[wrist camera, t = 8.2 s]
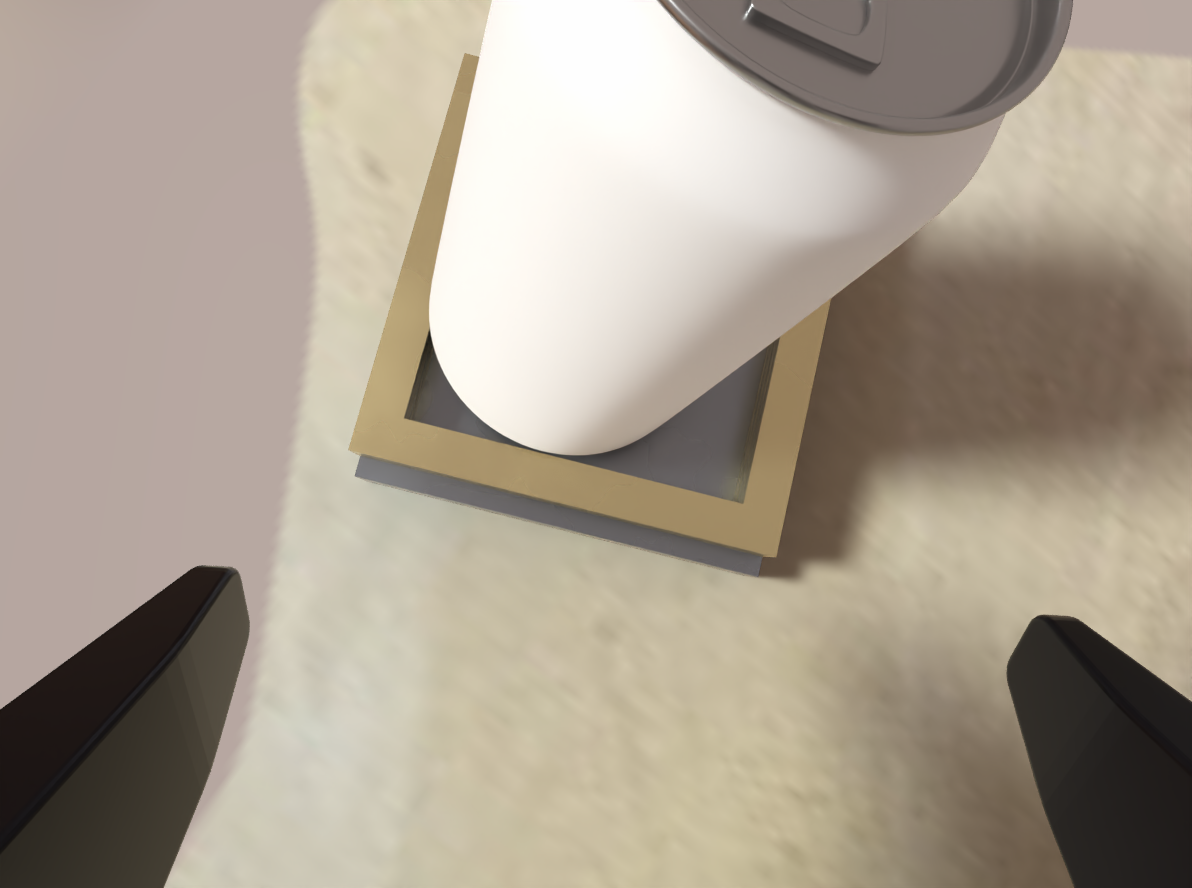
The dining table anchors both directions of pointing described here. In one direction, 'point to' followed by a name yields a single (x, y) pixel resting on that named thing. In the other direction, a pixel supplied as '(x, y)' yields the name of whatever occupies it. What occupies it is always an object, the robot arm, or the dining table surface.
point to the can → (697, 187)
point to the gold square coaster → (598, 481)
